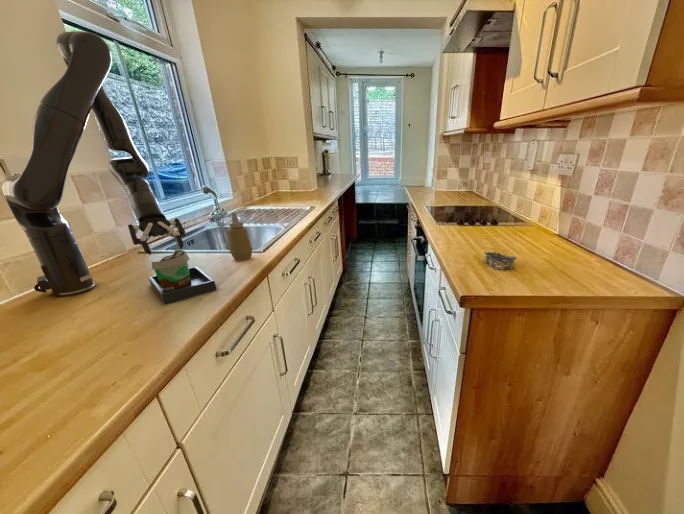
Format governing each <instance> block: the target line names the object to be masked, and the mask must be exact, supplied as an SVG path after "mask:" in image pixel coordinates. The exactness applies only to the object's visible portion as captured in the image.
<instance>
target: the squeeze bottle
mask: <svg viewBox="0 0 684 514" xmlns="http://www.w3.org/2000/svg"><path fill="white" fill-rule="evenodd" d="M228 226H229V228H228V229H227V239H228V240H227V241H228V249H229V254H231V256H232V258H233V260H234V261H235V262H247V261H250V260H251V259H252V255H253V246H252V242H251V239H250V236H249V232H248V228H247V227H246V226H244V222H243V221H242V220H240V219H239V216H238V214H237V212H236V211H232V212H231V221H229V222H228Z"/></svg>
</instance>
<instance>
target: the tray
mask: <svg viewBox="0 0 684 514" xmlns="http://www.w3.org/2000/svg"><path fill="white" fill-rule="evenodd" d="M188 268H189V273H190V279H191V285H190V286H189V287H185V288H181V289H177V290H173V291H169V292H166V293H164V292H163V290H162V287H161V285H160V282H159V280H158V277H157V275H156V274H155V275H151V276H148V280H149V283H150V286H151V287H152V289H153V290H154V292H155V293H156V295H157V296H158V297H159V299H160V300H161V301H162V302H163V304H164V305H169V304H172V303H176V302H179V301H182V300H186V299H189V298H193V297H197V296H200V295H205V294H208V293H211V292H215V291H217V290H218V289H217V286H216V281H215V280H214V279H213V278H212V277H210V276H209V275H208V274H207V273H206V272H204V271H203V270H202V269H201V268H199V267H198V266H196V265H195V266H192V267H188Z"/></svg>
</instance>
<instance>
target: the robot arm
mask: <svg viewBox="0 0 684 514" xmlns="http://www.w3.org/2000/svg"><path fill="white" fill-rule="evenodd" d="M55 41H56V48H57V51H58V53H59V55H60V58H61V59H62V61H63V62H64V65H65V66H66V70H65V72H64V74H63V75H62V76H61V78H59V79H58V80H57V81H56V83H54V84H53V85H52V87H50V89H48V90H47V92H46V93H45V94H44V95H43V96H42V98H41V99H40V101H39V104H38V106H37V109H36V112H35V114H34V117H33V121H32V126H31V141H32V145H31V146H32V148H31V153H30V156H29V159H28V161H27V163H26V165H25V167H24V168H23V171H22V173H20V174H19V173H18V174H13V175H10V176H9V177H7V178H6V179H5V180H4V181H3V183H2V187H1V191H2V194H3V198H4V199H5V201H6V203H7V205H8V207H9V209H10V211H11V213H12V215H13V217H14V218H15V221H16V222H17V224H18V225H19V227H20V228H21V230H22V231H23V232H24V233H25V236H26V237H27V239H28V242H29V243H30V245H31V247H32V250H33V252H34V254H35V256H36V258H37V260H38V262H39V265H40V266H39V267H40V269H41V272H42V274H43V275H41V276H37V279H36V284H35V285H34V286H33V289H34V291H36V292H39V293H45V294H46V293H47V292H48V291H49V290H51V292H52V294H53V296H54V297H55V298H57V297H62V296H63V297H65V296H71V295H72V296H73V295H76V294H77V295H78V294H81V293H85V292H87V291H89V290H92V289H93V288H95V287H96V283H95V281H94V279H93V276H92V275H91V272H90V269H89V267H88V264H87V263H86V261H85V257H84V255H83V252H82V250H81V248H80V246H79V244H78V241H77V239H76V237H75V234H74V231H73V229H72V227H71V224H70V223H69V221H68V220H66V219H65V218H64V216H63V215H62V214H61V212H60V210H59V207H58V206H59V204H61V202H62V199H63V196H64V195H63V194H64V191H65V186H66V185H65V184H66V180H67V176H68V171H69V168H70V165H71V163H72V161H73V158H74V156H75V154H76V152H77V150H78V146H79V143H80V141H81V139H82V136H83V134H84V131H85V129H86V126H87V122H88V120H89V116H90V114H91V112H92V115H93V117H94V119H95V121H96V123H97V125H98V128H99V131H100V133H101V136H102V138H103V140H104V143H105V145H106V147H107V148H108V149H109V150H111V151H115V152H123V153H126V154H129V156H130V157H120V158H113V159H111V160H110V161H109V162H108V164H107V165H108V171H109V172H110V174H111V175H112V176H113V178H114V179H115V180H116V181H117V182H118V183H119V184H120V185H121V186H122V187H123V189H124V191H125V193H126V195H127V197H128V199H129V202H130V206H131V208H132V211H133V213H134V215H135V218H136V220H137V221H138V225H133V224H131V223H130V224H128V225H127V228H128V232H129V235H130V237H131V241H132V243H133V245H135V246H138V245H141V247H142V250H143V251H144V253H145V254H148V255H149V256H150V255H152V250H151V248H150V246H149V243H148V241H149V240H150V239H151V238H152V237H153V238H156V237H163V236H168V237H170V238H173V239H175V242H176V244H177V247H178V248H179V249H178V250H182V249H183V247H184V242H183V239H182V238H185V237H186V229H184V227H183V225H182V222H181V221H180V219H179V218H174V220H168V218H167V216H166V215H165V213H164V211H163V208H162V206H161V204H160V202H159V200H158V198H157V196H156V195H155V193H154V190H153V188H152V186H151V184H150V183H149V182H148V181H147V180H145V179H148V178H149V177H150V174H151V171H150V170H151V169H150V167H149V165H148V164H147V163H146V161H145V160H144V158H143V157H142V156H141V154H140V152H139V151H138V150H137V148H136V146H135V144H134V141H133V139H132V136H131V133H130V131H129V128H128V126H127V123H126V121H125V119H124V118H123V116H122V114H121V113H120V111H119V110H118V109H117V107H116V106H115V105H114V103H113V102H112V100H111V98H110V97H109V96H108V94H107V92H106V91H105V89H104V87H103V83H104V81H105V79H106V78H107V76H108V74H109V72H110V70H111V68H112V65H113V55H112V50H111V49H110V46H109V44H108V43H107V42H106V41H105V40H104V38H102V37H101V36H99V35H98V34H96V33H93V32H90V31H84V30H76V31H74V30H73V31H63V32H60V33H59V34H58V35H57V37H56V40H55ZM171 226H172V227H174V228H175V229H177V231H176V230H175V229H174V228H172V227H171ZM138 231H141V232H142V236H141V237H140V238H138V237H137V236H138V235H137V233H138Z"/></svg>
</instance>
